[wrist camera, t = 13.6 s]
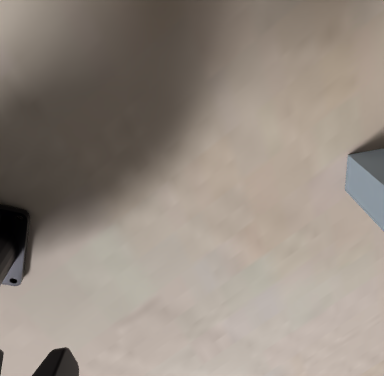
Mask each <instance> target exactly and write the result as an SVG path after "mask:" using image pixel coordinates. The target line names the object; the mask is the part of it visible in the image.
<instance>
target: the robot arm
mask: <svg viewBox="0 0 384 376" xmlns="http://www.w3.org/2000/svg"><path fill="white" fill-rule="evenodd" d="M18 216H21V217H22V218H23V219H21V218H19V217H18ZM29 222H30V215H29V213H28V212H27V211H26V210H23V209H19V208H15V207H10V206H5V205H1V204H0V285H1V284H5V285H11V286H18V285H20V284H21V282H22V280H23V276H24V267H25V258H26V249H27V240H28V231H29ZM3 354H4V353H3V351H2V350H0V374H1V367H2V361H3ZM32 376H79V366H78V363H77V361H76V360H75V358H74V356H73V355H72V353H71V351H70V350H69V349H68V348H67V347H65V348H59V349H54V350H52V351H51V352H50V353H49V354H48V356H47V357H46V358H45V359H44V361H43V362H42V363H41V365H40V366H39V367H38V369H37V370H36V371H35V372H34V374H33V375H32Z"/></svg>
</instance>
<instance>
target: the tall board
mask: <svg viewBox="0 0 384 376" xmlns="http://www.w3.org/2000/svg"><path fill="white" fill-rule="evenodd" d="M345 191H346V192H347V193H348V194H349V195H350V196H351V197H352V198H353V199H354V200H355V201H356V202H357V204H358V205H359V206H360V207H361V208H362V209H363V210H364V211H365V212H366V213H367V214H368V215H369V216H370V217H371V218H372V220H373V221H374V222H375V223H376V224H377V225H378V226H379V227H380V228H381V229H382V230H383V231H384V148H383V149H377V150H372V151H366V152H361V153H355V154H350V155H348V161H347V173H346V185H345Z"/></svg>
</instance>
